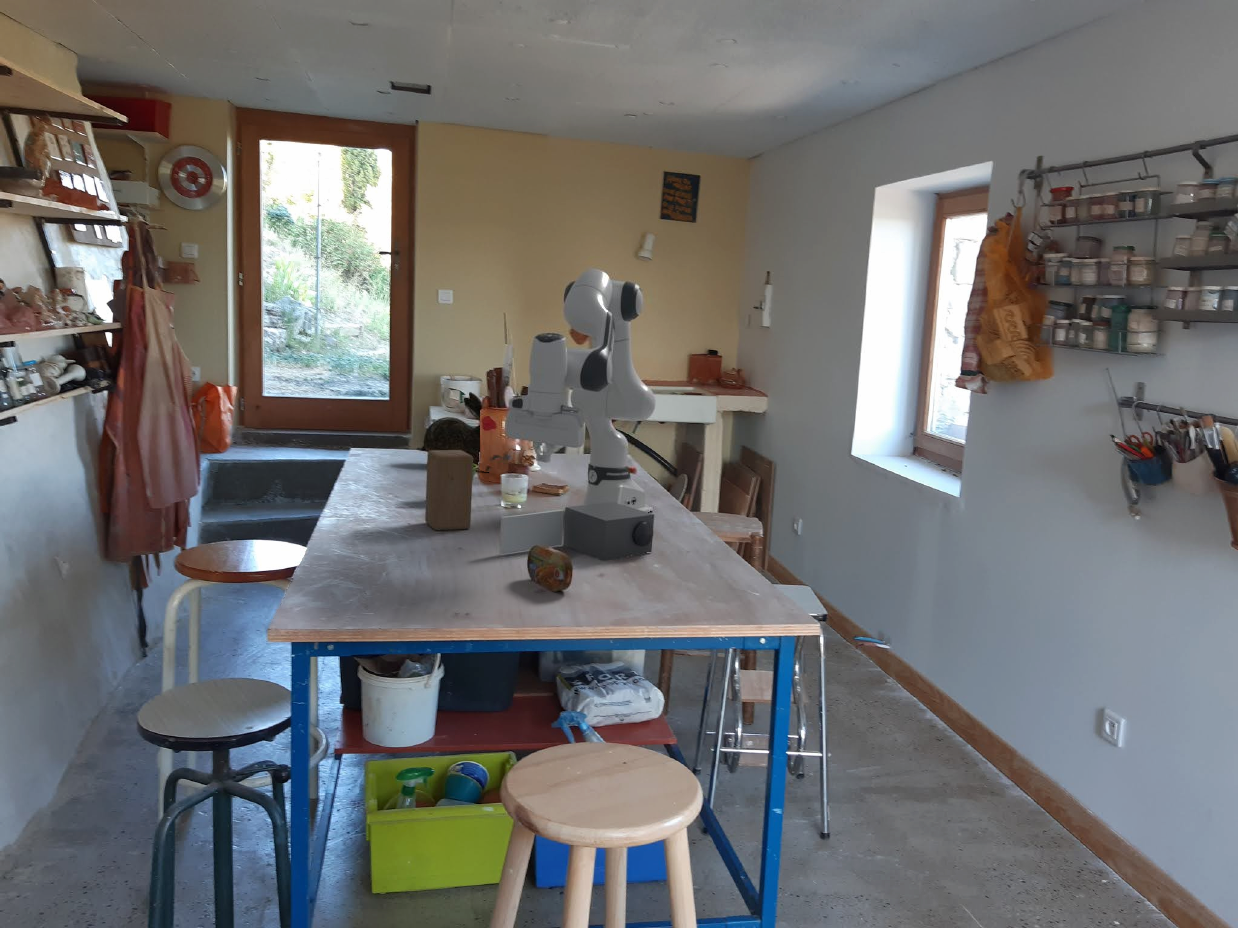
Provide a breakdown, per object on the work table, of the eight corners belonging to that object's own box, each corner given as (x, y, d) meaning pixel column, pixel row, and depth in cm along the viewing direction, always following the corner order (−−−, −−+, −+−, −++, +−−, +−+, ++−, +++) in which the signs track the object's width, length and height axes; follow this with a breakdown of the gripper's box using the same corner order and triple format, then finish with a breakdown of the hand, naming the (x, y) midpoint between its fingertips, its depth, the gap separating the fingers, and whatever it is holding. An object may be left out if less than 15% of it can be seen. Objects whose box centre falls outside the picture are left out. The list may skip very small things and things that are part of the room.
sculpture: (473, 477, 323) (477, 397, 319) (412, 465, 339) (415, 388, 334) (509, 471, 339) (513, 395, 335) (450, 459, 355) (452, 386, 350)
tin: (525, 577, 213) (527, 541, 211) (537, 576, 214) (539, 539, 213) (561, 596, 201) (563, 558, 199) (573, 594, 203) (576, 556, 201)
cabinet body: (610, 538, 253) (613, 501, 251) (654, 553, 240) (657, 515, 239) (563, 545, 242) (565, 507, 241) (606, 561, 230) (609, 521, 228)
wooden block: (434, 531, 247) (437, 456, 244) (424, 522, 256) (426, 449, 253) (471, 529, 252) (474, 455, 249) (459, 521, 261) (462, 449, 257)
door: (561, 544, 241) (563, 510, 239) (502, 554, 228) (503, 517, 227) (557, 543, 242) (559, 509, 240) (498, 552, 229) (500, 516, 228)
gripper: (591, 407, 220) (587, 466, 222) (517, 398, 229) (515, 454, 231) (577, 409, 214) (574, 469, 217) (502, 399, 223) (500, 457, 226)
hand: (543, 461), depth 224 cm, fingers closed
